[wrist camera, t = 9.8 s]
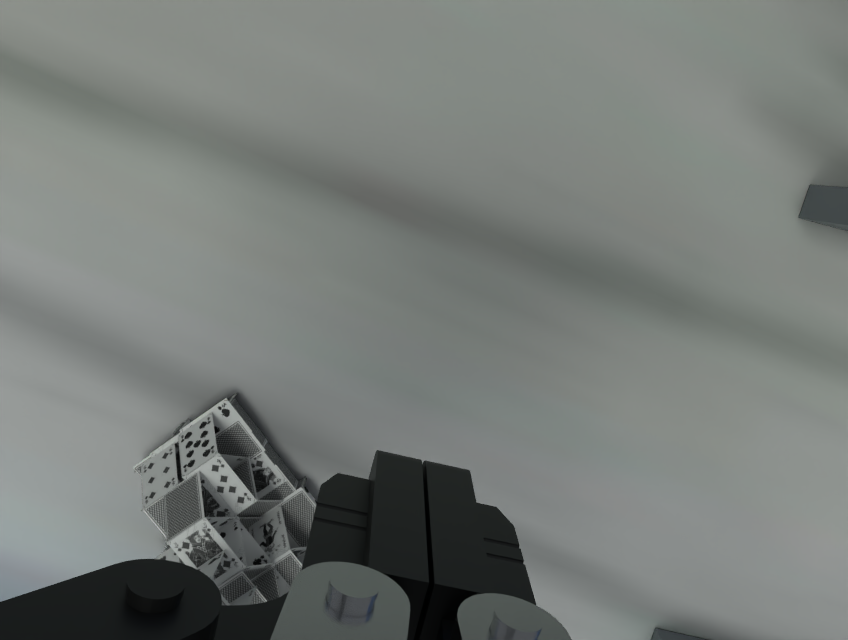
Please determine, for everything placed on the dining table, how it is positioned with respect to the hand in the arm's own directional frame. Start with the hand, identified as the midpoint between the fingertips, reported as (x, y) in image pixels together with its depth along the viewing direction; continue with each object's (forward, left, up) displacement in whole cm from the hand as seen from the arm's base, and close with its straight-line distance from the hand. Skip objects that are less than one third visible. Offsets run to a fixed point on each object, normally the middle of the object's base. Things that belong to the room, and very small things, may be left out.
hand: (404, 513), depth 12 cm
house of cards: (+8, -5, -12) cm, 16 cm away
